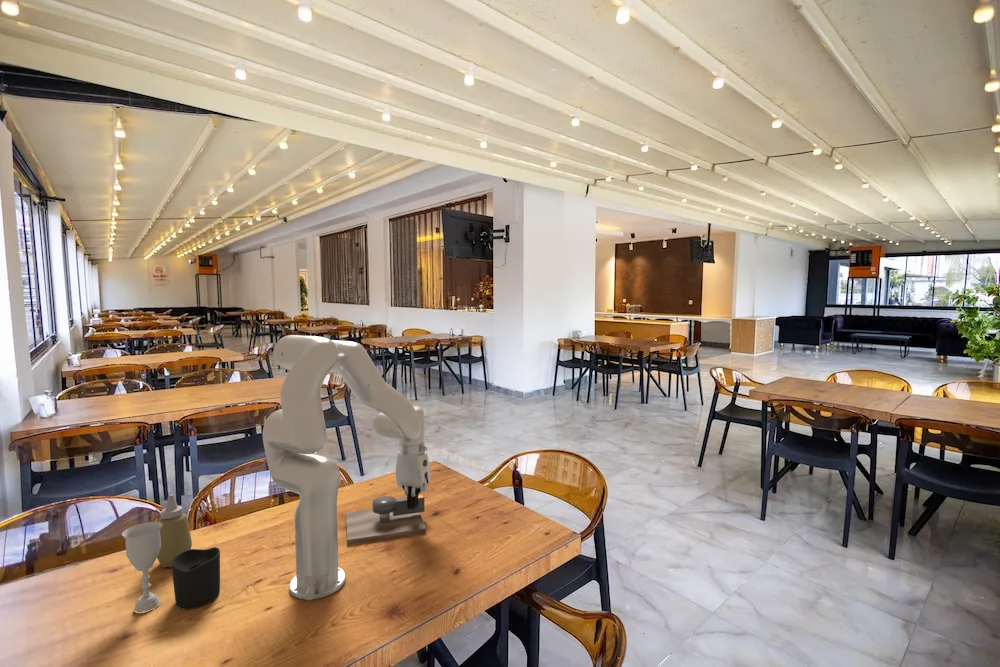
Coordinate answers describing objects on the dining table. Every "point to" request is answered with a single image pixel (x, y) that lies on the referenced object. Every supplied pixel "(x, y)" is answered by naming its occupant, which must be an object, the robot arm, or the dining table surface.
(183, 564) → the pen holder
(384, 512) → the grey knob lever
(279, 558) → the dining table surface
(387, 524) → the board
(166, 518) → the squeeze bottle
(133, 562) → the chalice
